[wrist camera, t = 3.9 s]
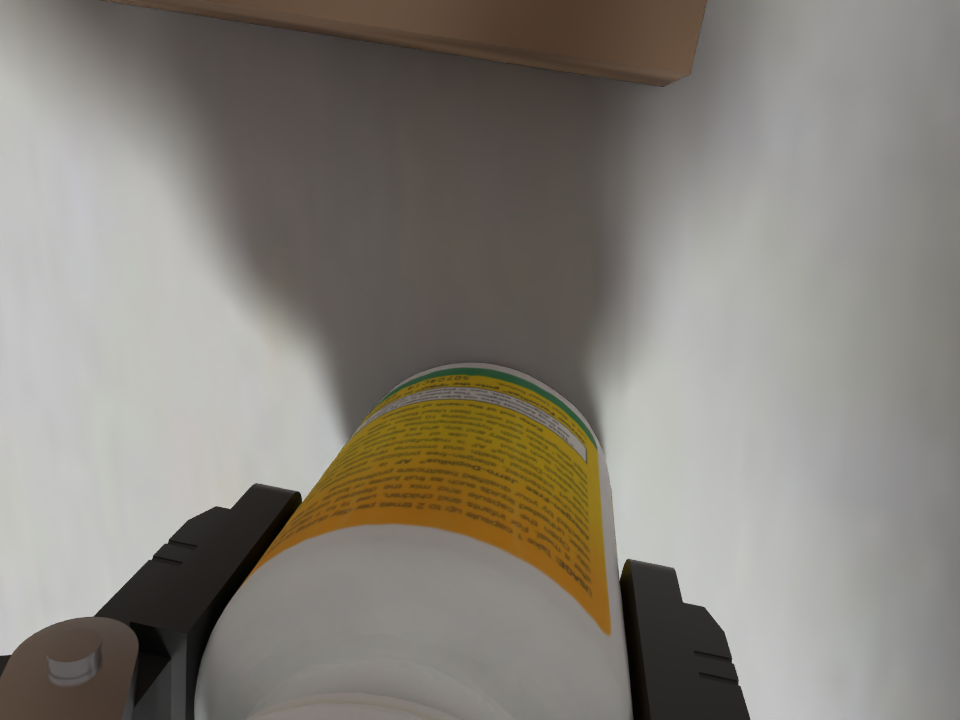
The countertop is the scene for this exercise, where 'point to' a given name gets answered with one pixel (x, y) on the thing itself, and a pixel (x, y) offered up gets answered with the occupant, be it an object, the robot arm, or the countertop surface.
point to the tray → (496, 29)
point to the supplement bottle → (437, 571)
